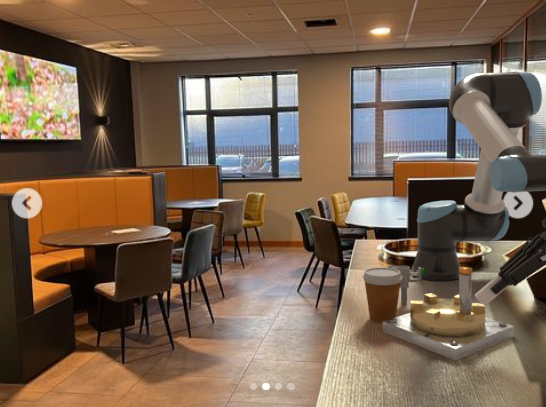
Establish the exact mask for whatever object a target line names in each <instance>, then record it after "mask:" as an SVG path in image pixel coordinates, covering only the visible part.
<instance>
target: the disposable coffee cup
mask: <svg viewBox="0 0 546 407" xmlns="http://www.w3.org/2000/svg"><path fill="white" fill-rule="evenodd" d="M362 279H363V281H364V287H365V294H366V300H367V302H366V303H367V307H368V314H369V320H370V321H372V322H374V323H378V324H383V321H385V320H389V319H392V318H395V317H397V312H398V304H399V297H400V296H399V295H400V291H401V288H400V282H401V280H402V276H401V273H400V271H399V270H397V269H393V268H387V267H385V268H384V267H381V266H379V267H370V268H368V269H365V270H364V273H363V275H362Z"/></svg>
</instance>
